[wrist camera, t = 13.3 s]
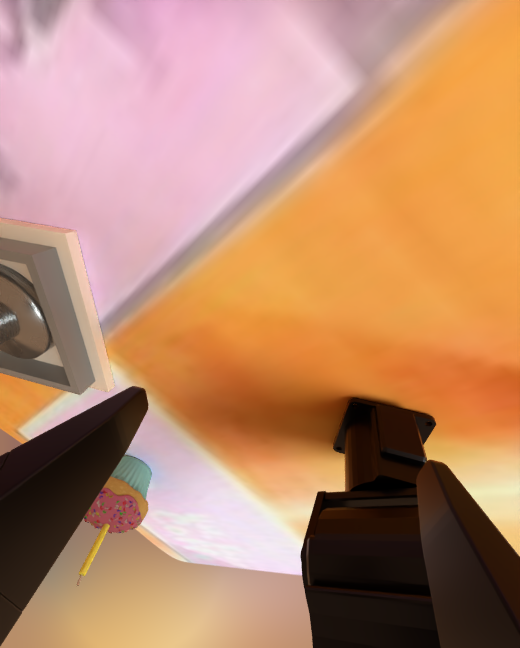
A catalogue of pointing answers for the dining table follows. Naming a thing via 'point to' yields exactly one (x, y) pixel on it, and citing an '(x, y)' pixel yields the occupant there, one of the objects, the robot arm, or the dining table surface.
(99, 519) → the cupcake
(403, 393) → the dining table surface
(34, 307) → the flared base peg
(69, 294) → the board
